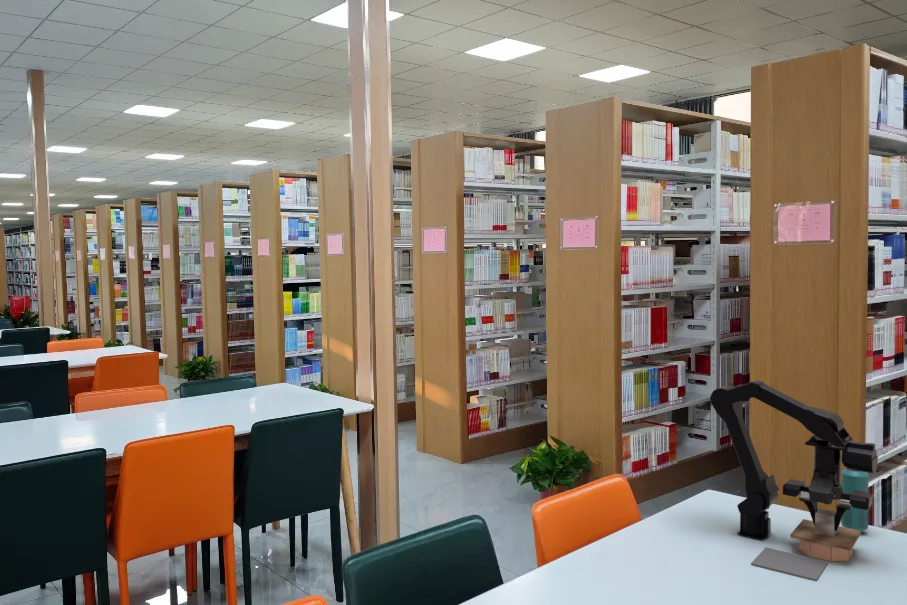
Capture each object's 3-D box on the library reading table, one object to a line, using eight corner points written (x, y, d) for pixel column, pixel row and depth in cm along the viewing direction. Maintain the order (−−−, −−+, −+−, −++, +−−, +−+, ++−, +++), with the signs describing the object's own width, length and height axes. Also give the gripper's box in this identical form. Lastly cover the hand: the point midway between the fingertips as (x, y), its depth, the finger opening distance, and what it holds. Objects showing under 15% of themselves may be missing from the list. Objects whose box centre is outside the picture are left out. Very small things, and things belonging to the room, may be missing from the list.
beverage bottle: (872, 537, 182) (874, 460, 181) (844, 535, 183) (846, 459, 182) (863, 527, 188) (864, 453, 187) (836, 526, 189) (837, 452, 188)
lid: (790, 537, 171) (790, 514, 171) (803, 522, 182) (803, 500, 181) (850, 550, 163) (851, 526, 163) (860, 533, 173) (861, 510, 173)
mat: (750, 564, 165) (750, 563, 165) (765, 548, 175) (765, 547, 175) (816, 581, 157) (816, 579, 157) (828, 563, 166) (828, 561, 166)
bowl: (796, 553, 172) (796, 537, 172) (806, 539, 180) (806, 524, 180) (846, 564, 165) (846, 548, 165) (854, 550, 173) (855, 534, 173)
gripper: (777, 466, 171) (776, 529, 172) (865, 480, 159) (863, 548, 160) (789, 456, 180) (788, 516, 181) (873, 469, 168) (872, 533, 169)
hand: (825, 528), depth 172 cm, fingers closed on lid, 4 cm apart
